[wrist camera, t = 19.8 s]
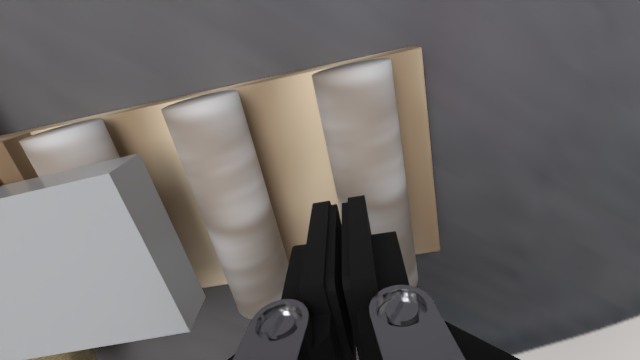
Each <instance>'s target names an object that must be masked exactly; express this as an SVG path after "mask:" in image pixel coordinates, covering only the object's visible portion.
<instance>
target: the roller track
mask: <svg viewBox="0 0 640 360" xmlns="http://www.w3.org/2000/svg"><path fill="white" fill-rule="evenodd" d="M138 153H139V154H140V156H141V158H142V160H143V162H144V165H145V167H146V169H147V171H148V173H149V175H150V177H151V180H152V182H153V184H154V186H155V188H156V190H157V192H158V195H159V197H160V199H161V201H162V203H163V205H164V208H165V210H166V212H167V214H168V216H169V218H170V220H171V223H172V225H173V227H174V229H175V231H176V233H177V236H178V238H179V240H180V242H181V244H182V246H183V248H184V251H185V253H186V255H187V257H188V259H189V261H190V263H191V266H192V268H193V270H194V272H195V274H196V276H197V279H198V281H199V283H200V285H201V287H202V288H205V287H211V286H218V285H224V284H228V285H229V287H230V290H231V293H232V295H233V298H234V300H235V303H236V306H237V308H238V311H239V312H240V314H241V315H242V316H244V317H246V318H249V319H253V317H254V316H255V314H256V313H257V312H258V311H259V310H260V309H261V308H263V307H264V306H266V305H268V304H269V303H272V302H274V301H277V300H281V297H282V292H283V288H284V283H285V279H286V274H287V269H288V265H289V260H290V256H291V251H292V248H293V246H296V245H303V244H306V242H307V235H308V229H309V223H310V217H311V210H312V204H313V203H318V202H324V201H330V203H331V205H333V204H337V206H338V210H339V215H340V220H341V224H342V203H346V202H348V198H349V197H355V196H362V195H365V200H366V206H367V212H368V217H369V223H370V228H371V234H379V233H386V232H393V231H396V234H397V238H398V242H399V246H400V250H401V253H402V257H403V261H404V265H405V269H406V273H407V277H408V281H409V285H411V286H414V287H416V285H417V283H418V271H417V263H416V254H422V253H429V252H435V251H440V243H439V232H438V221H437V210H436V199H435V188H434V178H433V167H432V156H431V145H430V134H429V124H428V113H427V102H426V91H425V80H424V69H423V59H422V48H421V47H416V46H411V47H406V48H401V49H397V50H392V51H388V52H383V53H378V54H374V55H369V56H365V57H360V58H355V59H351V60H346V61H341V62H337V63H332V64H328V65H323V66H318V67H314V68H309V69H305V70H300V71H295V72H291V73H286V74H282V75H277V76H272V77H268V78H263V79H259V80H254V81H249V82H245V83H240V84H236V85H231V86H226V87H222V88H217V89H213V90H208V91H203V92H199V93H194V94H190V95H185V96H180V97H176V98H171V99H167V100H162V101H157V102H153V103H148V104H143V105H139V106H134V107H130V108H125V109H120V110H116V111H111V112H107V113H102V114H97V115H93V116H88V117H84V118H79V119H74V120H70V121H65V122H61V123H56V124H51V125H47V126H42V127H38V128H33V129H28V130H24V131H19V132H15V133H10V134H5V135H1V136H0V186H3V185H7V184H11V183H16V182H20V181H24V180H28V179H32V178H37V177H41V176H45V175H49V174H54V173H58V172H62V171H66V170H70V169H75V168H79V167H83V166H87V165H92V164H96V163H100V162H104V161H108V160H113V159H117V158H121V157H125V156H130V155H134V154H138Z"/></svg>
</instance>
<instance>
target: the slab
mask: <svg viewBox="0 0 640 360" xmlns="http://www.w3.org/2000/svg"><path fill="white" fill-rule="evenodd" d="M205 298H206V296H205V294H204V291H203V289H202V287H201V285H200V283H199V281H198V279H197V276H196V274H195V272H194V270H193V268H192V266H191V263H190V261H189V259H188V257H187V255H186V253H185V251H184V248H183V246H182V244H181V242H180V240H179V238H178V236H177V233H176V231H175V229H174V227H173V225H172V223H171V220H170V218H169V216H168V214H167V212H166V210H165V208H164V205H163V203H162V201H161V199H160V197H159V195H158V192H157V190H156V188H155V186H154V184H153V182H152V180H151V177H150V175H149V173H148V171H147V169H146V167H145V165H144V162H143V160H142V158H141V156H140V154H139V153H138V154H134V155H130V156H125V157H121V158H117V159H113V160H108V161H104V162H100V163H96V164H92V165H87V166H83V167H79V168H75V169H70V170H66V171H62V172H58V173H54V174H49V175H45V176H41V177H37V178H32V179H28V180H24V181H20V182H16V183H11V184H7V185H3V186H0V360H26V359H32V358H38V357H44V356H50V355H56V354H62V353H68V352H73V351H79V350H85V349H91V348H97V347H103V346H109V345H115V344H121V343H126V342H132V341H138V340H144V339H150V338H156V337H162V336H168V335H174V334H180V333H185V332H190V330H191V328H192V326H193V324H194V322H195V320H196V317H197V315H198V313H199V311H200V309H201V306H202V304H203V302H204V300H205Z"/></svg>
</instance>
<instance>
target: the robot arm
mask: <svg viewBox="0 0 640 360" xmlns="http://www.w3.org/2000/svg"><path fill="white" fill-rule="evenodd" d="M356 347H357V351H358V356H359V360H520V359H518V358H516V357H514V356H512V355H510V354H508V353H506V352H504V351H502V350H500V349H498V348H496V347H494V346H492V345H490V344H489V343H487V342H485V341H483V340H481V339H479V338H477V337H475V336H473V335H471V334H469V333H467V332H465V331H463V330H461V329H459V328H457V327H455V326H453V325H451V324H450V323H448V322H446V321H444V320H443V318H442V316H441V314H440V312H439V311H438V309H437V307H436V305H435V303H434V302H433V300H432V298H431V297H430V296H429V295H428V294H427V293H426V292H425V291H423V290H422V289H420V288H417V287H414V286H411V285H409V281H408V277H407V273H406V269H405V265H404V261H403V257H402V253H401V250H400V246H399V242H398V238H397V234H396V231H393V232H386V233H379V234H371V228H370V223H369V217H368V212H367V206H366V200H365V195H362V196H355V197H349V198H348V202H346V203H342V224H341V220H340V215H339V210H338V206H337V204H333V205H331V203H330V201H324V202H318V203H313V204H312V210H311V217H310V223H309V229H308V235H307V242H306V244H303V245H296V246H293V248H292V251H291V256H290V260H289V265H288V269H287V274H286V279H285V283H284V288H283V292H282V297H281V300H277V301H274V302H272V303H269V304H268V305H266V306H264V307H263V308H261V309H260V310H259V311H258V312H257V313H256V314H255V316H254V317H253V319H252V320H251V322H250V324H249V326H248V328H247V330H246V333H245V335H244V337H243V339H242V341H241V343H240V345H239V347H238V349H237V351H236V354H234V355H233V356H232V357H231V358H229V359H228V360H356Z"/></svg>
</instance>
